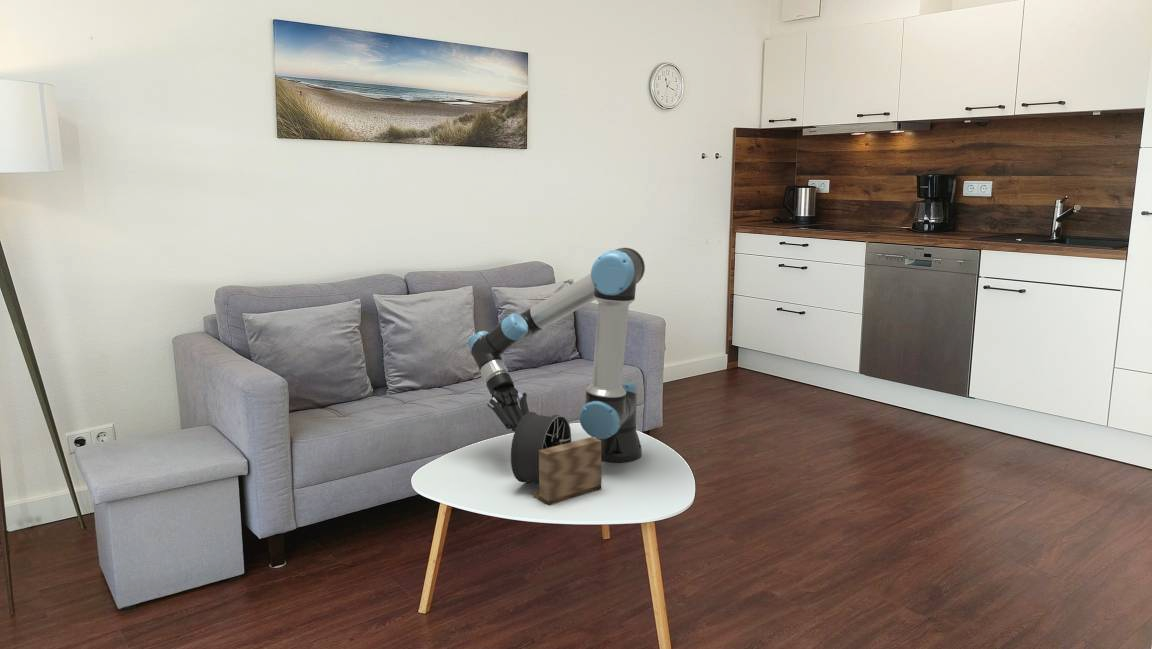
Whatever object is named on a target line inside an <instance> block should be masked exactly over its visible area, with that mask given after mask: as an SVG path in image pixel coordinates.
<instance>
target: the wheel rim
mask: <svg viewBox="0 0 1152 649" xmlns="http://www.w3.org/2000/svg"><path fill="white" fill-rule="evenodd" d="M570 442H572V432H571V427H570V423H569V421H568V419H567V418H566V417H565V416H564V415H562V414H554V415H552V416H549V415H541V414H538V413H536V412H534V411H529V412H528V413H527V414H525V415H524V416H523V417H522V418H521V420H520V421H519V423H518V425H517V428H516V430H515V431H514V433H513V437H512V441H511V447H510V464H511V470H512V473H513V477H514V478H515V479H516V480H517V481H518V482H519V483H527V482H531V483H532V482H533V483H537V484H539V450H542V449H546V448H550V447H554V446H558V445H562V444H566V443H570Z"/></svg>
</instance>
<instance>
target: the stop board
mask: <svg viewBox="0 0 1152 649" xmlns="http://www.w3.org/2000/svg"><path fill="white" fill-rule="evenodd" d="M538 489H539V490H538V491H535V492H532V497H533V498H534V499H536V500H537V501H539V502H541V503H543V504H545V505H547V506H550V505H554V504H557V503H560V502H563V501H567V500H571V499H574V498H576V497H579V496H583V495H587V494H590V493H593V492H596V491H595V490H597V491H600V490H602V460H601V440H599V439H596V438H594V437H592V436H590V437H586V438H582V439H579V440H574V441H571V442H570V443H566V444H562V445H558V446H554V447H550V448H546V449H542V450H539V483H538ZM599 489H600V490H599ZM592 491H593V492H592ZM589 492H590V493H589ZM586 493H587V494H586ZM573 497H574V498H573Z"/></svg>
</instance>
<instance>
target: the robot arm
mask: <svg viewBox="0 0 1152 649" xmlns="http://www.w3.org/2000/svg"><path fill="white" fill-rule="evenodd" d="M645 271H646V265H645V261H644V258H643V256H642V255H641V254H640V253H639V252H638V251H636V249H633V248H630V247H621V248H620V247H619V248H617V249H614V250H609V251H606V252H603V253H601V255H599V256H598V257H597V258H596V259H595V261H594V262H593V264H592V266H591V269H590V273H589V274H587V275H586V276H584V277H581V278H580V279H579V280H577V281H575V282H574V283H571V284H570V285H568V286H566V287H564V288H563V289H560V290H559V291H557V292H555V293H554V294H553V295H551V296H549V297H548V298H546V299H544V300H542V301H541V302H539V303H537V304H535V305H533V306H532V307H531V308H530V307H529V308H528V309H527V310H524V311H523V312H521V313H520V314H517V313H515V312H513V313H511V314H509V315H508V316H506V317H505V318H504V319H502V321H500V322H499V323H498V324H497V325H496V326H495V327H494V328H493V329H492V330H490V331H489V332H488V331H487V330H480V331H477V332H476V333H474V334H472V335H471V336H470V337H469V338H468V340H467V345H468V348H469V350H470V354H471V356H472V357H473V360H474V361H475V363H476V366H477V367H478V369H479V372H480V375H481V376H482V378H483V380H484V381H483V382H485V385H486V387H487V390H488V392H489V394H490V395H491V398H490V400H489V401H488V402H487V407H488V408H490V409H491V410H492V411H493V412H494V414H495V415H496V416H497V418H498V419H499V420H500V422H501V423H502V424H503V425H504V427H505V428H506V430H511V431H512V432H515V430H516V428H517V425H518V423H519V421H520V420H521V418H522V417H523V416H524V415H525V414H527V413H528V412H530V411H529V406H528V402H527V396H528V395H527V393H526V392H523V393H521V392H519V391H518V389H517V388H516V387H515V384H514V381H513V379H512V377H511V375H510V374H509V370H508V368H507V366H506V365H505V362H504V361H503V359H502V356H501V355H502V354H504V353H505V352H506V351H507V350H509V348H510V349H511V347H513V346H514V345H515V344H517V343H519V342H521V341H524V340H525V339H526V338H529V337H532V336H533V335H536V334H537V333H538V332H540V331H541V330H542V331H543V329H545V328H546V327H549V326H551V325H553V324H554V323H555V322H558V321H560V320H561V319H563V318H566V317H567V316H569V315H570V314H572V313H574V312H576V311H577V310H579V309H580V308H581V309H582V308H583V307H584V306H587V305H588V304H590V303H592V302H593V301H597V303H598V305H597V316H596V317H597V320H596V330H595V331H596V332H595V341H594V342H595V343H594V344H595V345H594V353H593V354H594V355H593V365H592V366H593V367H592V377H591V378H592V379H591V380H592V381H591V383H590V385H588V386H587V387H586V390H585V402H584V403H585V404H584V405H583V406H582V408H581V410H580V412H579V424H580V426H581V428H582V429H583V430H584V432H586V434H587V435H588V436H590V437H593V438H596V439H599V440H601V461H603V462H611V463H625V462H626V463H627V462H632V461H635V460H638V459H639V458H641V457H642V445H641V442H640V438H639V435H638V432H637V396H638V393H637V386H636V385H635V383H633V382H629V381H624V380H623V372H624V364H625V363H624V362H625V353H626V352H625V351H626V340H627V330H628V320H629V307H630V305H631V304H632V303H633V302H634V301H635V299H636V287H637V284H638V283H640V281H641V280H642V278H644V274H645Z"/></svg>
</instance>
